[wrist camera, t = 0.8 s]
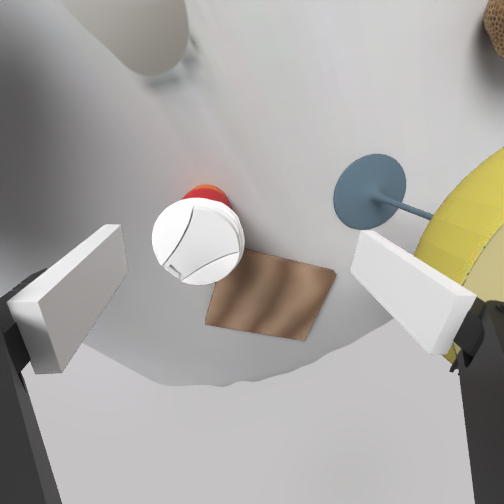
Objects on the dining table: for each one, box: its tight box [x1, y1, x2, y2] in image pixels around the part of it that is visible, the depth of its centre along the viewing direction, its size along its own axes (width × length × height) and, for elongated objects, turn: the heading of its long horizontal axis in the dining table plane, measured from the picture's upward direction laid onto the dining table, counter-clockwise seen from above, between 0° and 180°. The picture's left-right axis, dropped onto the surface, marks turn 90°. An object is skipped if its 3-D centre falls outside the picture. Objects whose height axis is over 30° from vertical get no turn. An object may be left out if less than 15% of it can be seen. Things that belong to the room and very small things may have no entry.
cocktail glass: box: [333, 147, 504, 369], centre depth 26 cm, size 18×18×25 cm
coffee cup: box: [152, 185, 245, 285], centre depth 28 cm, size 8×8×15 cm
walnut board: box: [205, 249, 337, 341], centre depth 42 cm, size 18×14×2 cm
